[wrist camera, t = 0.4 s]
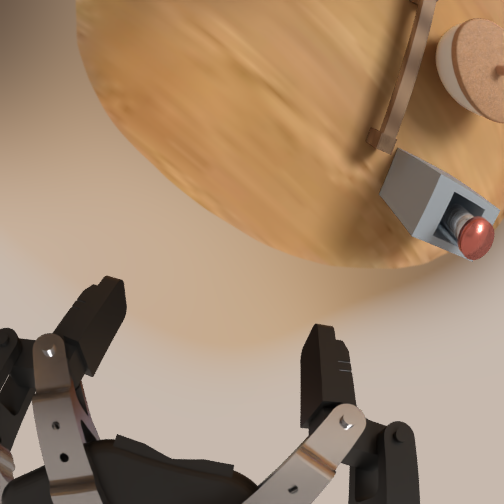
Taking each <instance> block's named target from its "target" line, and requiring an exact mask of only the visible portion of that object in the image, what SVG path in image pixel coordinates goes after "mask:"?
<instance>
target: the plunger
mask: <svg viewBox="0 0 504 504" xmlns="http://www.w3.org/2000/svg"><path fill="white" fill-rule="evenodd" d="M443 222H444V225H445V226H446V227H447V228H448V229H449V230H450V231H451V232H452V234H453V235H454V236H455V237H456V238H457V239H458V247H459V250H460V251H461V252H462V253H463V255H464V256H465V257H466V258H467V259H469V260H476V259H479V258H481V257H482V256H484V255H485V254H486V253H487V252H488V251H489V249H490V247H491V246H492V243H493V239H494V229H493V226H492V225H491V224H490V223H489V222H488V221H487V220H486V219H485V218H483V217H481V216H476V217H474V216H473V215H472V214H471V213H469V212H468V211H467V210H466V209H465V208H464V207H462V206H461V205H460V204H457V203H455V204H451V205H450V206H449V207H447V209H446V211H445V213H444V215H443Z"/></svg>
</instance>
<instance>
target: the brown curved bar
mask: <svg viewBox="0 0 504 504" xmlns="http://www.w3.org/2000/svg"><path fill="white" fill-rule="evenodd" d="M410 1H411V2H413V3H415V4H417V5H418V7H417V11H416V16H415V19H414V23H413V27H412V31H411V35H410V38H409V42H408V45H407V49H406V52H405V56H404V59H403V63H402V66H401V69H400V72H399V76H398V79H397V82H396V85H395V88H394V91H393V94H392V97H391V100H390V103H389V106H388V109H387V112H386V115H385V118H384V120H383V123H382V126H381V129H380V131H378V130H376V129H373V128H370V131H369V134H368V137H367V139H366V142H367V143H369V144H370V145H372V146H373V147H375V148H377V149H379V150H381V151H383V152H386V153H388V154H390V155H391V154H392V151H393V149H394V146H395V143H396V141H397V139H396V136H397V133H398V131H399V128H400V125H401V122H402V120H403V117H404V114H405V111H406V108H407V105H408V102H409V99H410V96H411V93H412V90H413V87H414V84H415V81H416V77H417V74H418V71H419V68H420V64H421V61H422V57H423V54H424V50H425V46H426V43H427V39H428V35H429V31H430V27H431V23H432V18H433V14H434V10H435V5H436V2H437V1H438V0H410Z"/></svg>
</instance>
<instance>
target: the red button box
mask: <svg viewBox="0 0 504 504" xmlns="http://www.w3.org/2000/svg"><path fill="white" fill-rule="evenodd" d="M379 195H380V196H381V197H382V199H383V200H384V201H385V202H386V203H387V205H388V206H389V207H390V208H391V210H392V211H393V212H394V214H395V215H396V216H397V217H398V219H399V220H400V221H401V223H402V224H403V225H404V227H405V228H406V229H407V231H408V232H409V233H410V235H411V236H412V237H415V238H418V239H420V240H423V241H425V242H428V243H430V244H432V245H435V246H437V247H440V248H442V249H444V250H447V251H449V252H452V253H454V254H456V255H458V256H461V257H463V258H465V259H467V258H466V257H465V256H464V255H463V253H462V252H461V251H460V250H459V247H458V239H457V238H456V237H455V236H454V235H453V234H452V232H451V231H450V230H449V229H448V228H447V227H446V226H445V225H444V222H443V215H444V213H445V211H446V209H447V207H449V206H450V205H451V204H455V203H457V204H460V205H461V206H462V207H464V208H465V209H466V210H467V211H468V212H469V213H471V214H472V215H473V216H474V217H476V216H481V217H483V218H485V219H486V220H487V221H488V222H489V223H490V224H491V225H492V226H493V224H494V222H495V220H496V218H497V216H498V214H499V211H500V210H499V209H498V208H496V207H495V206H494V205H493V204H491V203H490V202H489V201H487V200H486V199H485V198H483V197H482V196H481V195H479V194H478V193H476V192H475V191H474V190H472V189H471V188H469V187H468V186H466V185H465V184H464V183H462V182H461V181H459V180H458V179H456V178H455V177H453V176H451V175H450V174H448V173H446V172H444V171H443V170H441V169H439V168H437V167H435V166H433V165H432V164H430V163H428V162H426V161H424V160H422V159H420V158H418V157H416V156H414V155H412V154H410V153H408V152H406V151H404V150H402V149H400V148H398V149H397V152H396V154H395V157H394V159H393V162H392V164H391V167H390V169H389V172H388V174H387V177H386V179H385V181H384V184H383V186H382V188H381V191H380V193H379ZM468 260H469V259H468ZM470 261H473V260H470Z"/></svg>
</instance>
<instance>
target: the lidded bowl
mask: <svg viewBox="0 0 504 504" xmlns="http://www.w3.org/2000/svg"><path fill="white" fill-rule="evenodd" d="M436 67H437V71H438V74H439V77H440V80H441V81H442V83H443V86H444V87H445V89H446V90H447V92H448V93H449V94H450V95H451V96H452V98H453V99H454V100H456V101H457V102H458V103H459V104H460V105H461V106H463V107H464V108H466V109H467V110H469V111H471V112H473V113H475V114H477V115H480V116H482V117H485V118H487V119H489V120H492V121H495V122H498V123H504V29H503V28H501V27H500V26H499V25H497V24H495V23H494V22H492V21H489V20H486V19H481V18H477V19H471V20H468V21H465V22H463V23H460V24H458V25H455V26H453V27H452V28H450V29H449V30H447V31H446V32H445V33H444V34H443V36H442V37H441V39H440V41H439V43H438V45H437V48H436Z"/></svg>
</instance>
